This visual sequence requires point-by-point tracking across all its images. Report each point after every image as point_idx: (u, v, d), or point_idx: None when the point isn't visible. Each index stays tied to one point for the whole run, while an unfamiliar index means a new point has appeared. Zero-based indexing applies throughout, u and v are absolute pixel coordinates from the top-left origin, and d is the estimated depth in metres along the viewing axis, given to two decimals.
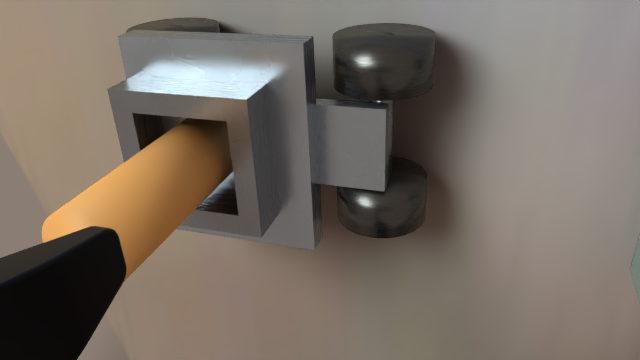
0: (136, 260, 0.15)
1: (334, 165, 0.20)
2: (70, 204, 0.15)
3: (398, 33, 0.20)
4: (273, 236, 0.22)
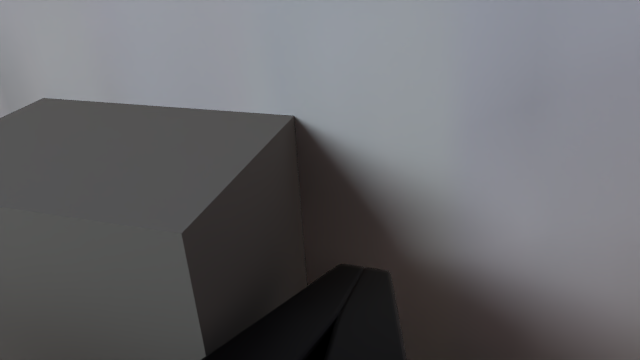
0: None
1: None
2: None
3: None
4: None
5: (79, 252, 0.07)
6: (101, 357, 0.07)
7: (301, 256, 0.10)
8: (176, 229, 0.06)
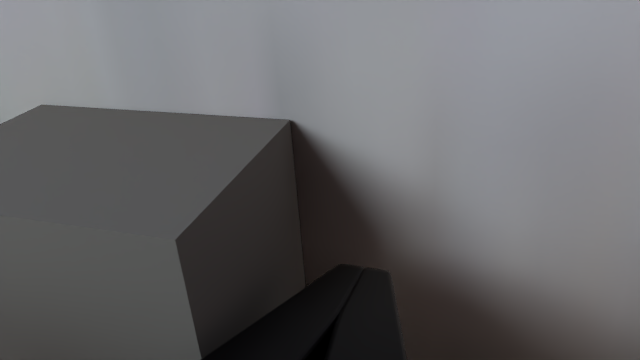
0: None
1: None
2: None
3: None
4: None
5: (75, 257, 0.07)
6: None
7: (298, 260, 0.10)
8: (170, 235, 0.06)
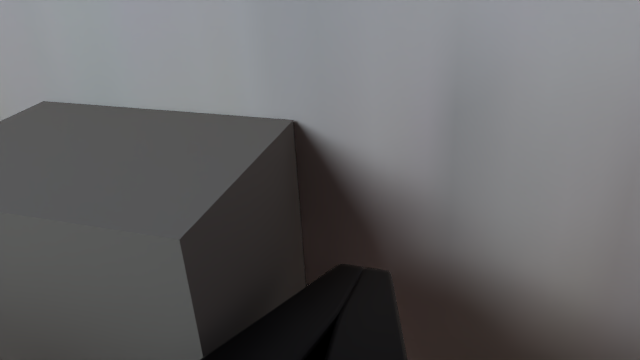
0: None
1: None
2: None
3: None
4: None
5: (78, 256, 0.07)
6: None
7: (299, 259, 0.10)
8: (174, 235, 0.06)
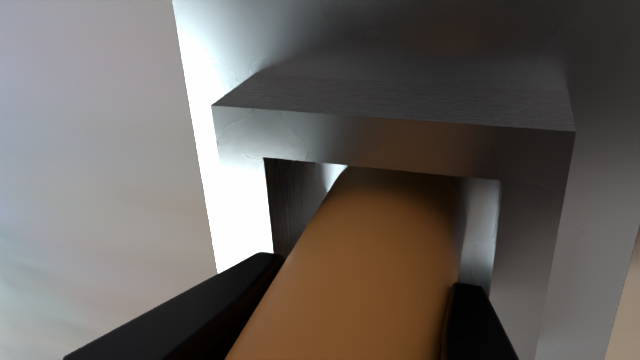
0: None
1: None
2: None
3: None
4: None
5: None
6: None
7: None
8: None
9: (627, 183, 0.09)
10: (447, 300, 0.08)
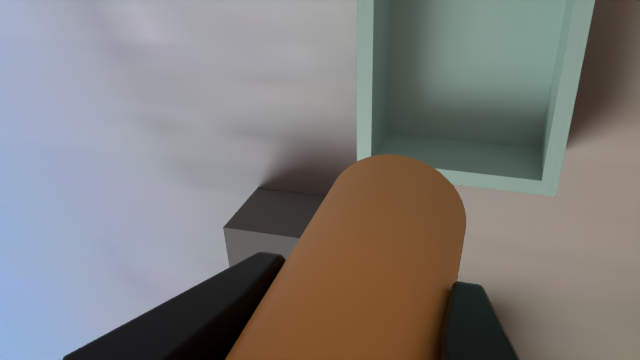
0: None
1: None
2: None
3: None
4: None
5: (238, 259, 0.23)
6: None
7: None
8: (224, 228, 0.22)
9: None
10: (446, 301, 0.08)
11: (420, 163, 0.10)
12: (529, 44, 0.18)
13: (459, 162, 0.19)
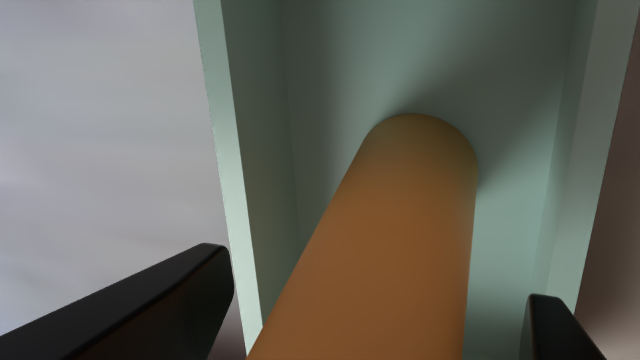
0: (370, 344, 0.06)
1: None
2: None
3: None
4: None
5: None
6: None
7: None
8: None
9: None
10: (469, 225, 0.09)
11: (439, 120, 0.11)
12: (496, 232, 0.12)
13: None
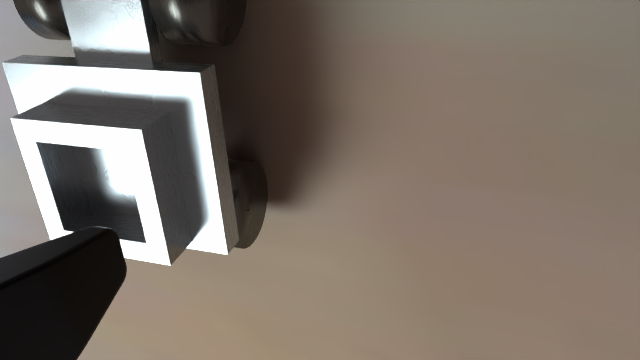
0: None
1: (127, 42, 0.19)
2: None
3: None
4: (197, 121, 0.18)
5: None
6: None
7: None
8: None
9: (203, 153, 0.19)
10: None
11: None
12: None
13: None
